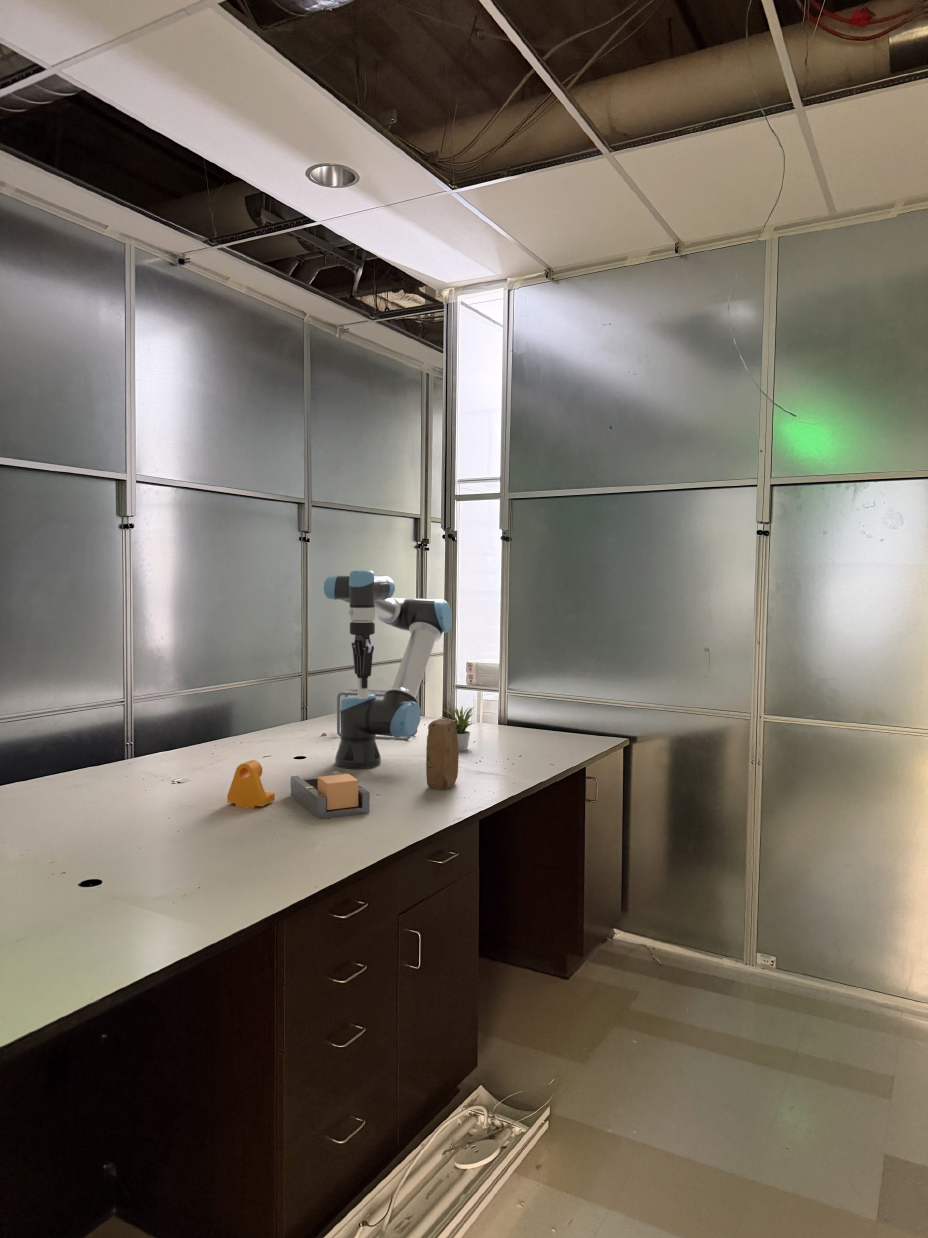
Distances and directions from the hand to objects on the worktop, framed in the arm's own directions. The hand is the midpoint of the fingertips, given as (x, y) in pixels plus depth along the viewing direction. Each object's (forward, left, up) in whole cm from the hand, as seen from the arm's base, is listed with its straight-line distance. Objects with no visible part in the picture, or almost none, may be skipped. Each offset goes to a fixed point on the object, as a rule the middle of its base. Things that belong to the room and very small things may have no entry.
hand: (363, 698), depth 250 cm
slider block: (+27, -17, -24) cm, 40 cm away
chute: (+19, -17, -26) cm, 36 cm away
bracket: (+10, -36, -26) cm, 46 cm away
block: (+15, +20, -26) cm, 36 cm away
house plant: (-31, +50, -26) cm, 64 cm away
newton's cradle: (-65, +31, -26) cm, 77 cm away
